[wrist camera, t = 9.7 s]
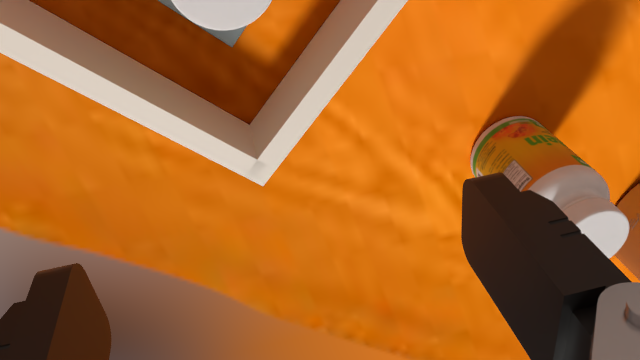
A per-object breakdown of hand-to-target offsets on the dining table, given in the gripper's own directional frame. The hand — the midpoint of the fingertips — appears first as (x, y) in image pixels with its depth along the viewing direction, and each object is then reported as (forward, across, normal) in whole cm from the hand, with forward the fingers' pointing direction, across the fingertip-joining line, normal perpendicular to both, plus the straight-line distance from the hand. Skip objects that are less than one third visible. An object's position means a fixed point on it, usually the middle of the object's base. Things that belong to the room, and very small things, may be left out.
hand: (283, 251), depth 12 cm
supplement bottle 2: (+20, -16, +12) cm, 29 cm away
